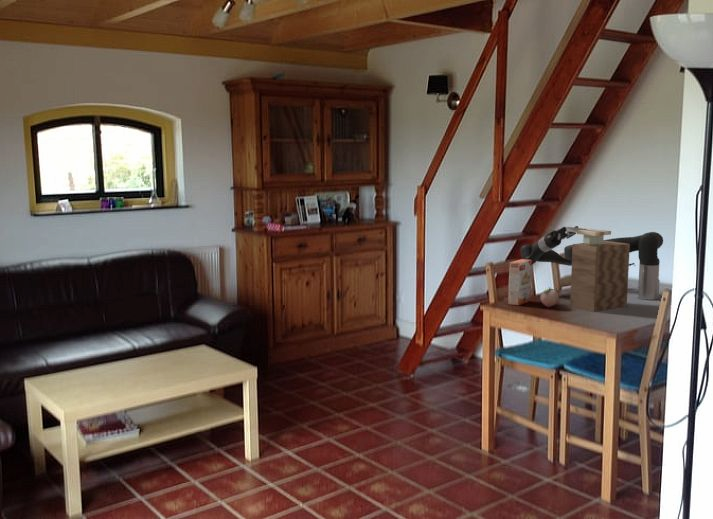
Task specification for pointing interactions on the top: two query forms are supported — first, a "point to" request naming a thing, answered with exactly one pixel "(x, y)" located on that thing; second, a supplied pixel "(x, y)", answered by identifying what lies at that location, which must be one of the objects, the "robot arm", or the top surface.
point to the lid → (588, 231)
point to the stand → (599, 276)
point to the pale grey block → (593, 240)
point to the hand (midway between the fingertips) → (571, 228)
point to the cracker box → (519, 282)
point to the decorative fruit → (549, 297)
